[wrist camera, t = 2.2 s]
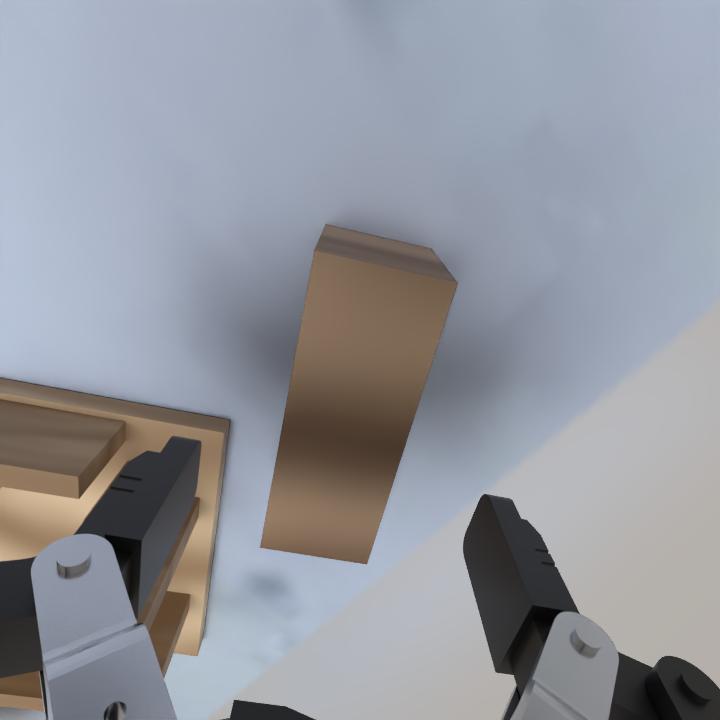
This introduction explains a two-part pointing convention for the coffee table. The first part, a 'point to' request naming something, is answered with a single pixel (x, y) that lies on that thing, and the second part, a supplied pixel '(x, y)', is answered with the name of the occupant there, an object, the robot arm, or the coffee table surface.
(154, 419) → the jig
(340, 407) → the tan wooden beam
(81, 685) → the robot arm
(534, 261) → the coffee table surface
